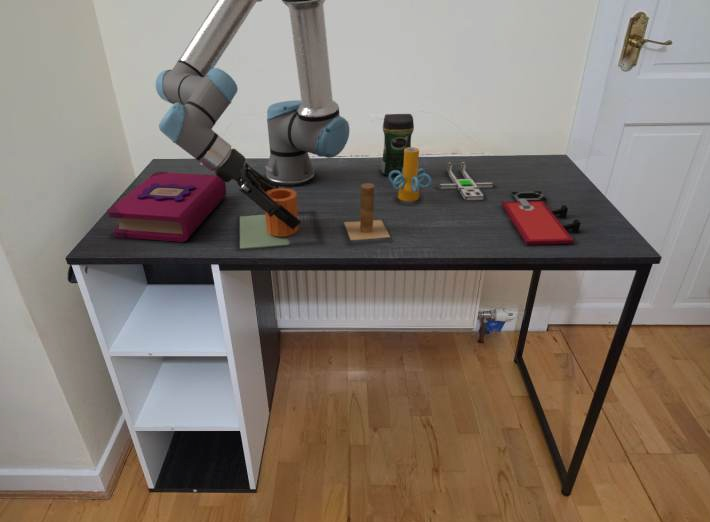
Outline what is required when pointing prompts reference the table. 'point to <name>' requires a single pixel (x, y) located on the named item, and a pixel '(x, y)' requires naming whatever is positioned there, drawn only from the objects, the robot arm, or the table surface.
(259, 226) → the mat
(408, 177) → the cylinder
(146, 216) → the book
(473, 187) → the robot figure
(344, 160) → the table surface
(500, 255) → the table surface
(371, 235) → the peg stand
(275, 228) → the orange hollow tube
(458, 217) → the table surface
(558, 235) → the red board with handle
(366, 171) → the table surface
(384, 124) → the coffee jar
